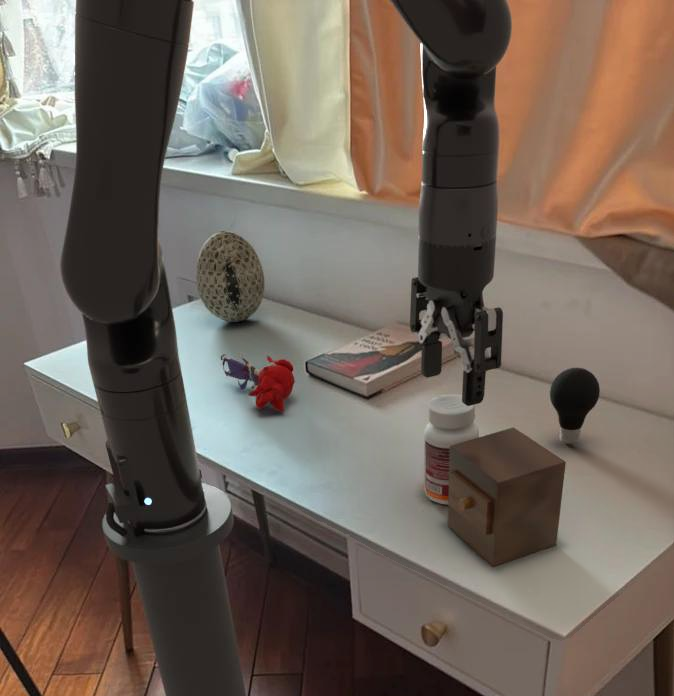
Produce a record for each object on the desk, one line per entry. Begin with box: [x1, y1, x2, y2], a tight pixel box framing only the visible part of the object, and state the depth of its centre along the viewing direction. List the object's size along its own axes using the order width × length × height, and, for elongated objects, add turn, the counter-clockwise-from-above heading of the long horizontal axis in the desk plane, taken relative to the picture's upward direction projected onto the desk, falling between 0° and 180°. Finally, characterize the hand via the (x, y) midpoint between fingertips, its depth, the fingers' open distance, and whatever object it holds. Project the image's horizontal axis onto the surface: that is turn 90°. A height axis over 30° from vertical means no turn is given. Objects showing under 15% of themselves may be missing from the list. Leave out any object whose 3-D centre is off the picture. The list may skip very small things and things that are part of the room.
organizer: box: [447, 427, 567, 567], centre depth 89 cm, size 9×9×10 cm
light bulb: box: [549, 367, 601, 446], centre depth 105 cm, size 6×6×10 cm
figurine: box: [220, 353, 296, 413], centre depth 123 cm, size 6×8×15 cm
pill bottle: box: [423, 394, 480, 506], centre depth 97 cm, size 6×6×11 cm
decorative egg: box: [195, 230, 266, 323], centre depth 148 cm, size 12×12×15 cm
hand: (451, 389), depth 92 cm, fingers open, 8 cm apart
